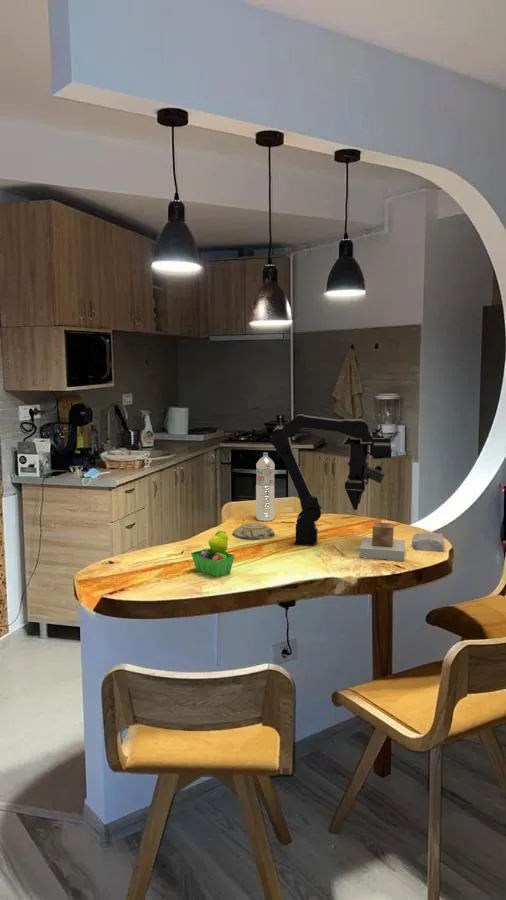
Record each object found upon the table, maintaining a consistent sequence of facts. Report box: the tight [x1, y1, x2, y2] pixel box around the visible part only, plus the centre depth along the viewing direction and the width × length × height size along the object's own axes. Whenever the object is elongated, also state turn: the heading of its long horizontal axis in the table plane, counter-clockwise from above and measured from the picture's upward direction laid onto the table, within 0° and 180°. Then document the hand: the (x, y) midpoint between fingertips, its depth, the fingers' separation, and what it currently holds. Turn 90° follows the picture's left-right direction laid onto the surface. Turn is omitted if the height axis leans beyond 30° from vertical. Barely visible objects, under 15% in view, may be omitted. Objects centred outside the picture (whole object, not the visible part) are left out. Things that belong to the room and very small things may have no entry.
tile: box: [359, 536, 406, 562], centre depth 213 cm, size 13×13×3 cm
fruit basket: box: [190, 529, 236, 578], centre depth 194 cm, size 11×9×11 cm
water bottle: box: [255, 452, 276, 522], centre depth 255 cm, size 7×7×25 cm
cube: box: [371, 521, 395, 547], centre depth 212 cm, size 6×6×6 cm
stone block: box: [411, 531, 445, 552], centre depth 222 cm, size 12×5×10 cm
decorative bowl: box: [231, 522, 276, 541], centre depth 235 cm, size 15×4×15 cm
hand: (356, 506), depth 221 cm, fingers open, 9 cm apart
